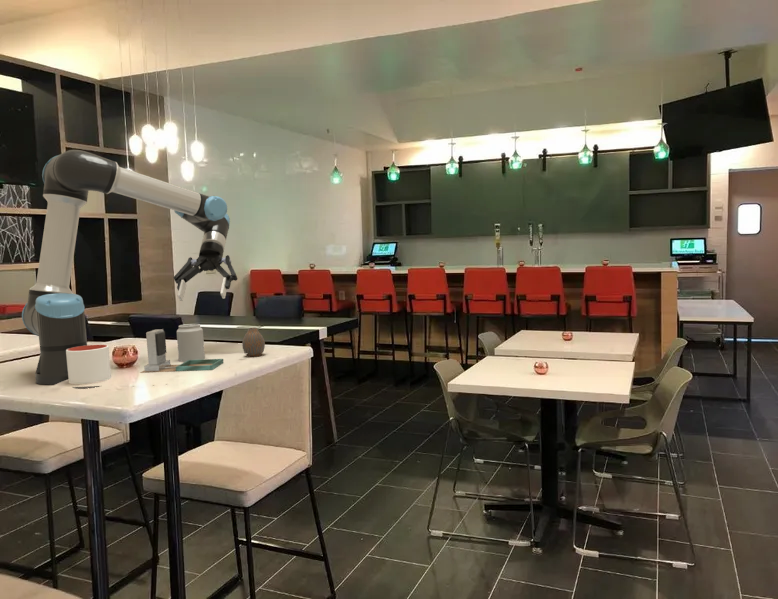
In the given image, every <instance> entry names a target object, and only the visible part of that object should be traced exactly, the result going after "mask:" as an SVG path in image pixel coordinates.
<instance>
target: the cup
mask: <svg viewBox="0 0 778 599" xmlns="http://www.w3.org/2000/svg"><path fill="white" fill-rule="evenodd" d="M66 357H67V368H68V384H71V385H86V386H72V387H71V388H73V389H76V390H84V389H85V390H86V389H87V390H88V388H89V389H95V387H96V388H100V387H101V385H93V386H92V385H91V386H87V385H88V384H95V383H101V382H105V381H107V380H111V379H112V372H111V371H112V370H111V359H110V347H109V345H108V344H90V345H89V344H87V345H86V346H79V347H73V348H69V349H67V350H66Z"/></svg>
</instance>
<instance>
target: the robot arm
mask: <svg viewBox="0 0 778 599" xmlns="http://www.w3.org/2000/svg"><path fill="white" fill-rule="evenodd" d="M41 176H42V181H43V184H44V185H43V193H42V197H43V199H45V200H46V201H47V202H46V203H47V206H46V214H45V220H44V227H43V228H44V229H43V235H42V240H41V241H42V242H41V248H40V255H39V263H38V268H37V276H36V283H35V284H34V285H32V286H31V287H30V288H28V289H29V290H28V296H27V302H26V303H25V305H24V307H23V308H22V312H21V318H22V319H21V320H22V323H23V325H24V326H25V328H26V329H27V330H28V331H29V332H30V333H32V334H33V335H34V336H37V337H38V342H39V358H38V362H37V367H36V370H35V374H34V378H35V379H34V380H35V383H36V384H40V385H56V384H60V383H62V382H65V381H67V380H68V381H69V379H68V368H67V357H66V350H67V349H69V348H73V347H79V346H86V345H88V340H87V326H86V316H85V315H86V314H85V309H86V308H85V304H84V300H83V297H82V296H81V295H79V294H76V293H74V292H73V291H72V289H70V283H71V275H72V270H73V263H74V256H75V249H76V241H77V235H78V226H79V221H80V220H79V219H80V215H81V214H80V213H81V208H83V207H84V206H86V205H87V203H88V198H89V191H90V192H97V193H98V192H99V193H101V194H105V195H108V194H110V193H114V194H118V195H122V196H123V197H124V196H125V197H128V198H132V199H135V200H138V201H141V202H146V203H149V204H152V205H155V206H158V207H161V208H165V209H169V210H173V211H174V213H175V214H176V215H177V216H179V217H180V218H181V219H183V220H185V221H186V222H188V223H189V224H191V225H192V226H194V227H196V228H198V230H200V231H201V232H203V236H202V237H203V238H202V241H201V245H200V249H199V253H198V257H197V258H193V257H191V256H190V257H188V259H187V260H186V262H185V263H184V264H183V265H182V267H181V268H180V269H179V271H177V273H176V274H175V275H174V276H173V280H174V282H175V284H176V288H177V297H178V299H179V301H181V302H183V300H184V298H185V293H186V289H187V282H189V281H190V280H191V279H193V278H194V277H195V276H197V275H198V274H201V273H202V272H203V271H204V272H208V271H214V270H216V271H217V272H218V273H219V274H220V275H221V276H222V278H223V279H222V284H221V288H220V294H219V295H220V296H221V298H222V299H226V296H227V290H229V289H230V288H231V284H232V282H233V281H236V282H237V280H238V276H237V274H236V272H235V270H234V267H233V266H232V260H231V257H230V255H225V257H224V252H225V251H224V250H225V246H226V243H227V242H226V241H227V237H228V233H229V230H230V222H231V221H230V220H231V219H230V216H229V215H228V204H227V202H226V200H225V199H224V198H223V197H220V196H215V195H211V196H210V195H206V194H203V193H200V192H197V191H193V190H191V189H188V188H185V187H182V186H178V185H175V184H172V183H169V182H166V181H164V180H161V179H157V178H155V177H151V176H148V175H145V174H142V173H139V172H136V171H133V170H130V169H127V168H124V167H121V166H120V165H119V164H118V162H117V161H114V160H111V159H110V158H109V159H108V158H106V157H103V156H100V155H97V154H95V153H92V152H88V151H85V150H80V149H69V150H66V151H64V152H62V153H60V154H58V155H55V156H53V157H51V158H50V159H49V160H48V161H47V162H46V163H45V165H44V167H43V169H42V174H41ZM223 263H224V264H225V265H226V266H227V268H228V270H229V273H228V272H227V270H225V268H223V266H222V264H223Z"/></svg>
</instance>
